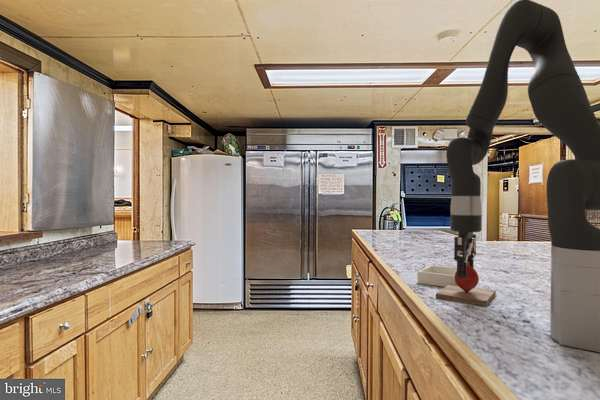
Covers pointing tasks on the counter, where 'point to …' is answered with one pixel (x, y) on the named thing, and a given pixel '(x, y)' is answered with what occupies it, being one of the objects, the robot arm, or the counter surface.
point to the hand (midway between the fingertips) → (465, 274)
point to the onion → (467, 279)
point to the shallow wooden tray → (437, 275)
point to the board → (466, 295)
